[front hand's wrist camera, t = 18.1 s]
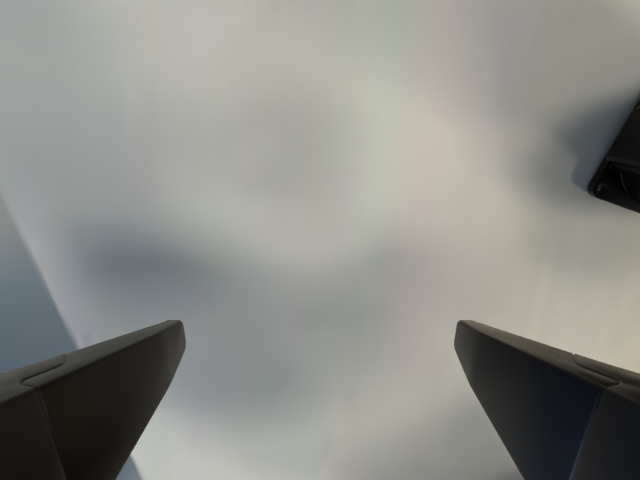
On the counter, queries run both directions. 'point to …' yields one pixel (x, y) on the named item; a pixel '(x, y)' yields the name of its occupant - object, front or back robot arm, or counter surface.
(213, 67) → the counter surface
